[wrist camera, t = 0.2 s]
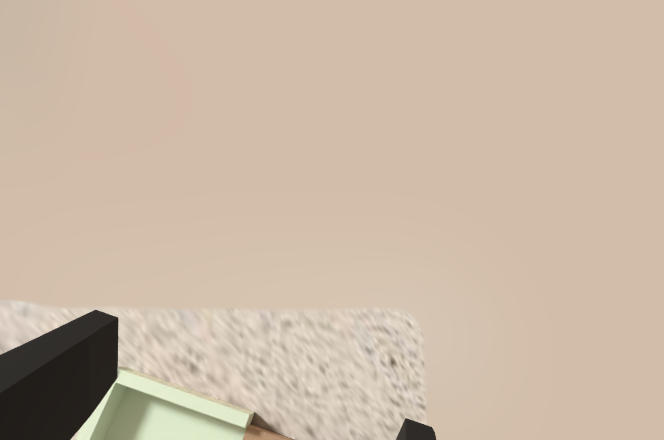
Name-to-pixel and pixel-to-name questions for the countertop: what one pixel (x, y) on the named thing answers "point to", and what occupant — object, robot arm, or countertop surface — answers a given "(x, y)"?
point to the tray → (162, 413)
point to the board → (262, 434)
